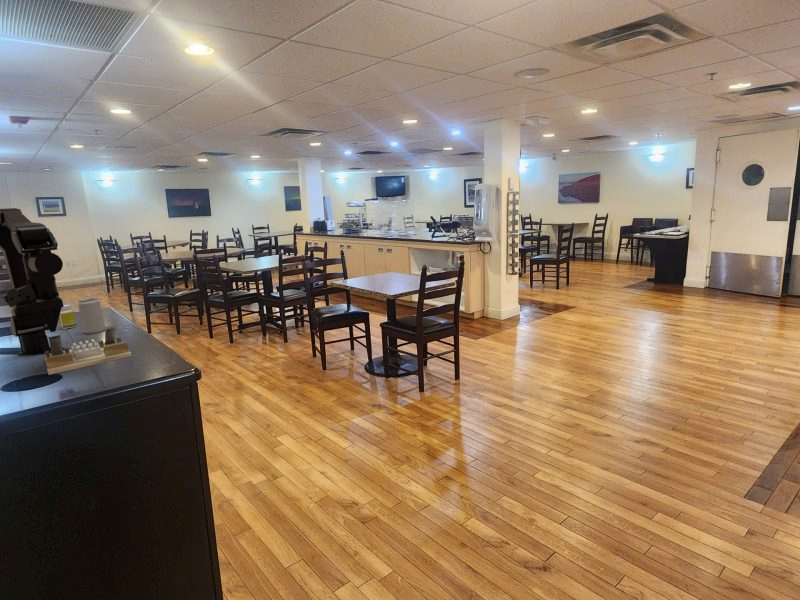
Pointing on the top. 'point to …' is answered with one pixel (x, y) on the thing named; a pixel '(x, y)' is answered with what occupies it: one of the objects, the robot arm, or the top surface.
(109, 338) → the strap
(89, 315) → the beverage can
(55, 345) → the strap
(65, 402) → the top surface
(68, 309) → the supplement bottle
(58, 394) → the top surface
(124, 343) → the heatsink board
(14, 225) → the robot arm
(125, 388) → the top surface
